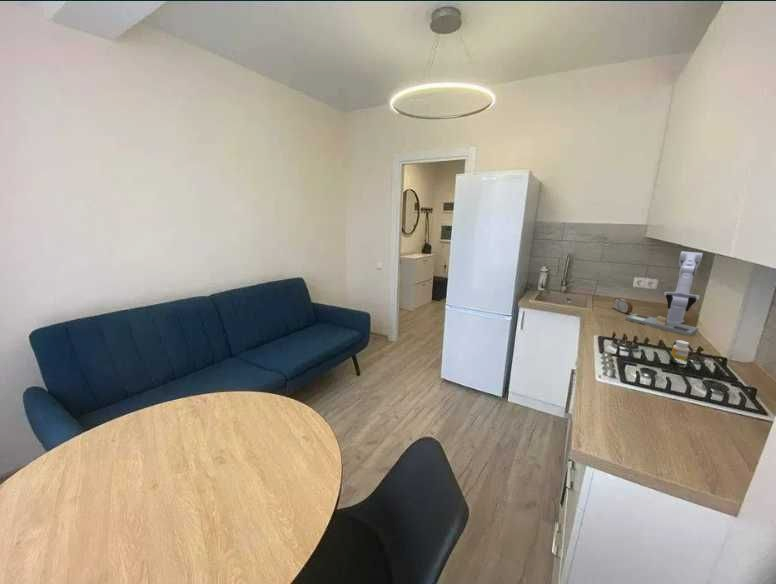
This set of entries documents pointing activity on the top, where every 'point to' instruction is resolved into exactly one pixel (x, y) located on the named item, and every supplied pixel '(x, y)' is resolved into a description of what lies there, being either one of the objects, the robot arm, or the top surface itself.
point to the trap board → (669, 325)
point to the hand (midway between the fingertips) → (677, 309)
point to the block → (661, 320)
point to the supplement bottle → (680, 350)
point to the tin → (623, 305)
